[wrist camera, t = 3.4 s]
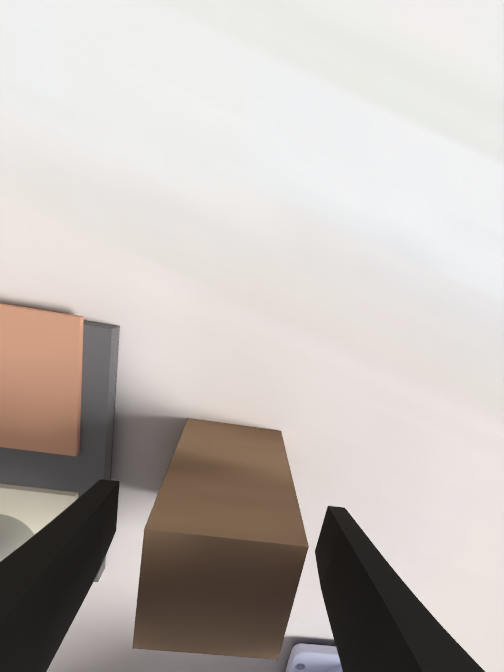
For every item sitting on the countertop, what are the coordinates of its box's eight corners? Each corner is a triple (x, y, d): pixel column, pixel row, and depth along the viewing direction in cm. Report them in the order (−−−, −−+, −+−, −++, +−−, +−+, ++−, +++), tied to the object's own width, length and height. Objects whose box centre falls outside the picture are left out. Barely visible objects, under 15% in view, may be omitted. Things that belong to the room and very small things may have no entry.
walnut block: (264, 506, 12) (277, 659, 7) (177, 496, 12) (132, 648, 7) (280, 430, 11) (308, 546, 6) (187, 417, 11) (144, 529, 6)
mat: (103, 580, 13) (94, 600, 12) (-71, 563, 12) (-93, 583, 12) (120, 318, 10) (109, 321, 9) (-107, 282, 9) (-139, 282, 9)
